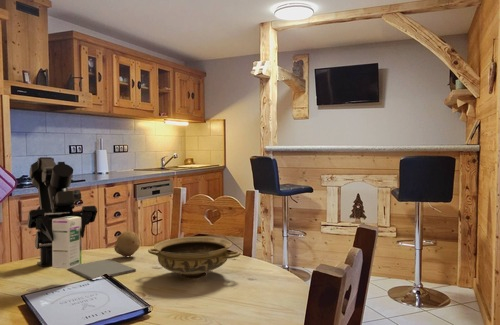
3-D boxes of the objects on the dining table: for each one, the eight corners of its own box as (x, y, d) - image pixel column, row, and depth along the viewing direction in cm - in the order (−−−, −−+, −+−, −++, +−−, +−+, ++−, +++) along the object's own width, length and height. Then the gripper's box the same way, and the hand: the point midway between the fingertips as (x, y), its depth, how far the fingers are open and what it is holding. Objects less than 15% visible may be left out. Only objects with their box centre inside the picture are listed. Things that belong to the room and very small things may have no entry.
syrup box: (68, 269, 109) (69, 218, 109) (51, 267, 110) (51, 218, 110) (81, 264, 114) (82, 216, 115) (64, 263, 116) (65, 215, 116)
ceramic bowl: (130, 284, 110) (129, 250, 110) (165, 263, 133) (165, 235, 133) (230, 290, 103) (229, 254, 103) (249, 267, 127) (248, 237, 127)
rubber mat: (68, 268, 128) (68, 266, 128) (108, 261, 138) (108, 258, 138) (93, 280, 114) (93, 278, 114) (135, 271, 124) (135, 268, 124)
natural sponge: (145, 256, 144) (145, 230, 144) (124, 261, 137) (124, 233, 137) (132, 253, 150) (132, 228, 150) (111, 257, 143) (111, 231, 143)
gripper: (28, 182, 110) (35, 225, 101) (95, 180, 121) (106, 218, 113) (25, 207, 116) (30, 249, 107) (88, 202, 128) (98, 240, 119)
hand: (68, 238), depth 111 cm, fingers closed on syrup box, 8 cm apart
